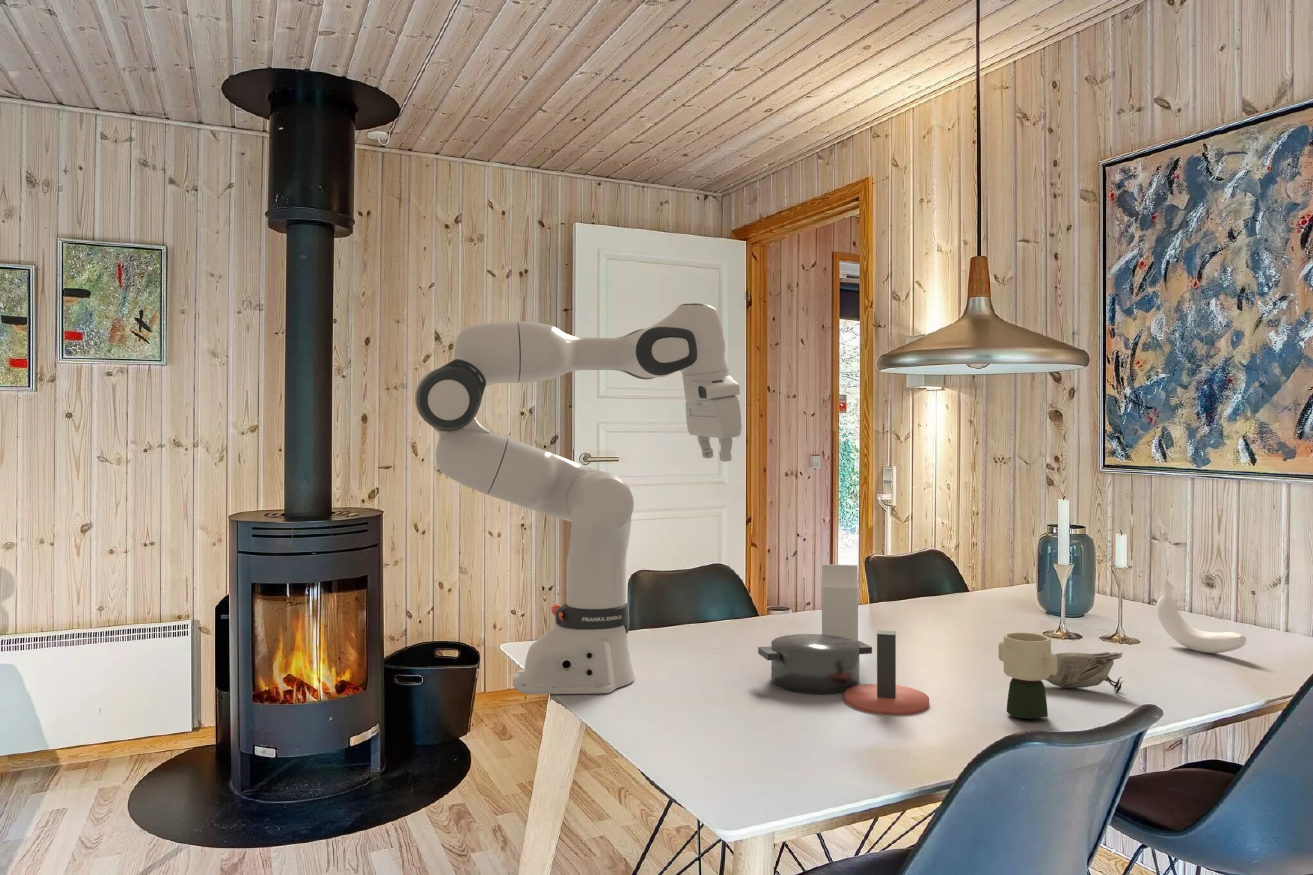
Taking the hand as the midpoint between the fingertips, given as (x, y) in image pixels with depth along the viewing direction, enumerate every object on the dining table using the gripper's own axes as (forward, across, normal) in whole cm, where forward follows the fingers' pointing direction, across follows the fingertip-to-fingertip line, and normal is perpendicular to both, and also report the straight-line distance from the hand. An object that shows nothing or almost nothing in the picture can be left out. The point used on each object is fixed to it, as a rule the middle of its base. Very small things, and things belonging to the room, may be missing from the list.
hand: (716, 459), depth 170 cm
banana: (+56, +18, +94) cm, 111 cm away
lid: (+43, +28, +14) cm, 53 cm away
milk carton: (+45, -1, +21) cm, 50 cm away
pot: (+42, +13, +8) cm, 45 cm away
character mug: (+45, +42, +31) cm, 69 cm away
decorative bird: (+48, +31, +50) cm, 76 cm away
